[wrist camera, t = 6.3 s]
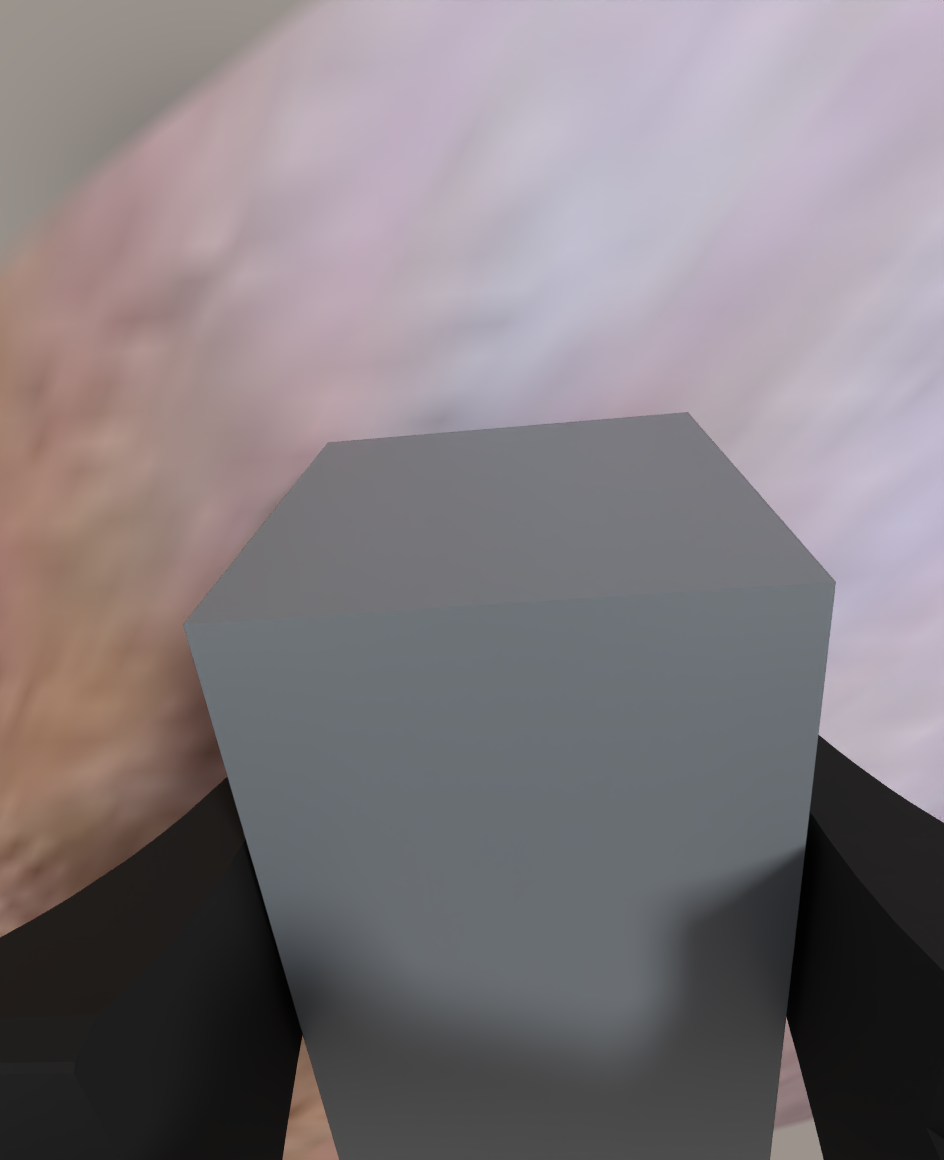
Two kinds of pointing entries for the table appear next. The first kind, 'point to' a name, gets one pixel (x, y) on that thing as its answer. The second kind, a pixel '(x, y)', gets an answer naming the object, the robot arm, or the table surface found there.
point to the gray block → (528, 785)
